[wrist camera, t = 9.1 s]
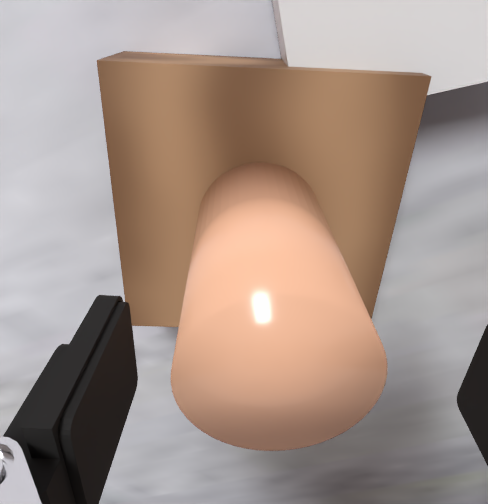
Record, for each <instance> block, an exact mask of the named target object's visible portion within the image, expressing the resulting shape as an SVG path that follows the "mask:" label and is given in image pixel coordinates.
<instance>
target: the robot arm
mask: <svg viewBox="0 0 488 504" xmlns="http://www.w3.org/2000/svg"><path fill="white" fill-rule="evenodd" d="M137 380H138V376H137V367H136V358H135V349H134V340H133V331H132V322H131V314H130V306H129V303H128V302H123V300H122V297H120V296H107V295H99V296H97V297H96V299H95V301H94V302H93V304H92V306H91V308H90V309H89V311H88V313H87V315H86V316H85V318H84V320H83V321H82V323H81V325H80V327H79V328H78V330H77V332H76V334H75V335H74V337H73V339H72V341H71V342H70V344H62V345H60V346H58V348H57V349H56V350H55V352H54V353H53V355H52V357H51V358H50V360H49V362H48V363H47V365H46V367H45V368H44V370H43V371H42V373H41V375H40V376H39V378H38V380H37V381H36V383H35V385H34V386H33V388H32V390H31V391H30V393H29V395H28V396H27V398H26V399H25V401H24V403H23V404H22V406H21V408H20V409H19V411H18V413H17V414H16V416H15V418H14V419H13V421H12V422H11V424H10V426H9V427H8V429H7V431H6V432H5V434H4V436H0V504H99V501H100V498H101V495H102V492H103V489H104V485H105V482H106V479H107V476H108V473H109V470H110V467H111V464H112V461H113V458H114V455H115V452H116V449H117V446H118V443H119V440H120V437H121V434H122V431H123V428H124V425H125V422H126V419H127V416H128V412H129V409H130V406H131V403H132V400H133V397H134V394H135V391H136V387H137ZM457 404H458V407H459V410H460V412H461V414H462V416H463V418H464V420H465V422H466V424H467V426H468V428H469V430H470V432H471V434H472V436H473V438H474V440H475V442H476V443H477V445H478V447H479V449H480V451H481V453H482V455H483V457H484V459H485V461H486V463H487V465H488V325H487V326H486V329H485V331H484V333H483V336H482V338H481V340H480V343H479V345H478V347H477V350H476V352H475V354H474V357H473V359H472V361H471V364H470V366H469V369H468V371H467V373H466V376H465V378H464V380H463V383H462V385H461V387H460V390H459V392H458V395H457Z"/></svg>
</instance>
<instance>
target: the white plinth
mask: <svg viewBox="0 0 488 504" xmlns="http://www.w3.org/2000/svg"><path fill="white" fill-rule="evenodd" d="M272 3H273V9H274V16H275V22H276V28H277V34H278V41H279V47H280V53H281V59H282V60H283V61H284V62H285V63H286V64H287V66H288V67H309V68H330V69H351V70H372V71H393V72H414V73H423V74H426V75H429V76H432V77H431V81H430V85H429V89H428V93H427V95H430V94H434V93H439V92H443V91H448V90H452V89H457V88H461V87H466V86H470V85H475V84H479V83H484V82H488V0H272Z"/></svg>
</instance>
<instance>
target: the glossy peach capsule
mask: <svg viewBox="0 0 488 504" xmlns="http://www.w3.org/2000/svg"><path fill="white" fill-rule="evenodd" d="M386 377H387V359H386V353H385V350H384V348H383V345H382V342H381V340H380V338H379V336H378V334H377V331H376V329H375V327H374V325H373V322H372V320H371V318H370V316H369V314H368V311H367V309H366V307H365V305H364V302H363V300H362V298H361V296H360V294H359V291H358V289H357V287H356V285H355V282H354V280H353V278H352V276H351V274H350V271H349V269H348V267H347V265H346V262H345V260H344V258H343V256H342V254H341V251H340V249H339V247H338V245H337V242H336V240H335V238H334V236H333V234H332V231H331V229H330V227H329V225H328V222H327V220H326V218H325V216H324V214H323V211H322V209H321V207H320V205H319V202H318V200H317V198H316V196H315V194H314V192H313V190H312V188H311V187H310V186H309V184H308V183H307V182H306V181H305V180H304V179H303V178H302V177H301V176H299V175H298V174H297V173H295V172H294V171H292V170H290V169H288V168H286V167H283V166H280V165H277V164H272V163H250V164H245V165H241V166H238V167H236V168H233V169H231V170H229V171H227V172H226V173H224V174H223V175H221V176H220V177H219V178H218V179H216V180H215V181H214V183H213V184H212V185H211V186H210V187H209V189H208V190H207V191H206V193H205V195H204V197H203V199H202V202H201V205H200V209H199V214H198V220H197V225H196V231H195V237H194V243H193V248H192V254H191V260H190V266H189V271H188V277H187V283H186V289H185V294H184V300H183V306H182V311H181V317H180V323H179V329H178V334H177V340H176V346H175V352H174V357H173V363H172V369H171V386H172V392H173V395H174V398H175V400H176V402H177V404H178V406H179V408H180V410H181V411H182V412H183V414H184V415H185V416H186V418H187V419H188V420H189V421H190V422H191V423H193V424H194V425H195V426H196V427H197V428H199V429H200V430H201V431H203V432H204V433H206V434H208V435H209V436H211V437H213V438H215V439H217V440H220V441H222V442H224V443H227V444H230V445H234V446H237V447H242V448H246V449H253V450H264V451H280V450H291V449H298V448H303V447H308V446H311V445H315V444H318V443H321V442H324V441H326V440H329V439H332V438H334V437H336V436H338V435H340V434H342V433H343V432H345V431H346V430H348V429H350V428H351V427H353V426H354V425H355V424H356V423H358V422H359V421H360V420H362V419H363V418H364V417H365V416H366V415H367V414H368V413H369V412H370V410H371V409H372V408H373V406H374V405H375V404H376V402H377V401H378V399H379V397H380V395H381V393H382V391H383V388H384V386H385V382H386Z"/></svg>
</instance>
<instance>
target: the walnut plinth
mask: <svg viewBox="0 0 488 504" xmlns="http://www.w3.org/2000/svg"><path fill="white" fill-rule="evenodd" d="M97 66H98V75H99V83H100V92H101V100H102V108H103V117H104V125H105V134H106V142H107V151H108V159H109V167H110V176H111V184H112V193H113V201H114V210H115V218H116V226H117V235H118V243H119V252H120V260H121V269H122V277H123V285H124V294H125V302H128V303H129V306H130V314H131V322H132V326H163V327H179V323H180V317H181V311H182V306H183V300H184V294H185V289H186V283H187V277H188V271H189V266H190V260H191V254H192V248H193V243H194V237H195V231H196V225H197V220H198V214H199V209H200V205H201V202H202V199H203V197H204V195H205V193H206V191H207V190H208V189H209V187H210V186H211V185H212V184H213V183H214V181H215V180H216V179H218V178H219V177H220V176H221V175H223V174H224V173H226V172H227V171H229V170H231V169H233V168H236V167H238V166H241V165H245V164H250V163H272V164H277V165H280V166H283V167H286V168H288V169H290V170H292V171H294V172H295V173H297V174H298V175H299V176H301V177H302V178H303V179H304V180H305V181H306V182H307V183H308V184H309V186H310V187H311V188H312V190H313V192H314V194H315V196H316V198H317V200H318V202H319V205H320V207H321V209H322V211H323V214H324V216H325V218H326V220H327V222H328V225H329V227H330V229H331V231H332V234H333V236H334V238H335V240H336V242H337V245H338V247H339V249H340V251H341V254H342V256H343V258H344V260H345V262H346V265H347V267H348V269H349V271H350V274H351V276H352V278H353V280H354V282H355V285H356V287H357V289H358V291H359V294H360V296H361V298H362V300H363V302H364V305H365V307H366V309H367V311H368V314H369V316H370V318H372V314H373V310H374V306H375V302H376V298H377V294H378V290H379V286H380V282H381V278H382V274H383V270H384V266H385V262H386V258H387V254H388V250H389V246H390V242H391V238H392V234H393V230H394V226H395V222H396V218H397V214H398V210H399V206H400V202H401V198H402V194H403V190H404V185H405V181H406V177H407V173H408V169H409V165H410V161H411V157H412V153H413V149H414V145H415V141H416V137H417V133H418V129H419V125H420V121H421V117H422V113H423V109H424V105H425V101H426V97H427V93H428V89H429V85H430V81H431V77H432V76H429V75H426V74H423V73H414V72H393V71H372V70H351V69H330V68H309V67H288V66H287V64H286V63H285V62H284V61H283V60H282V59H272V58H251V57H230V56H210V55H189V54H168V53H148V52H127V51H124V52H121V53H118V54H114V55H111V56H108V57H105V58H102V59H99V60H97Z"/></svg>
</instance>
